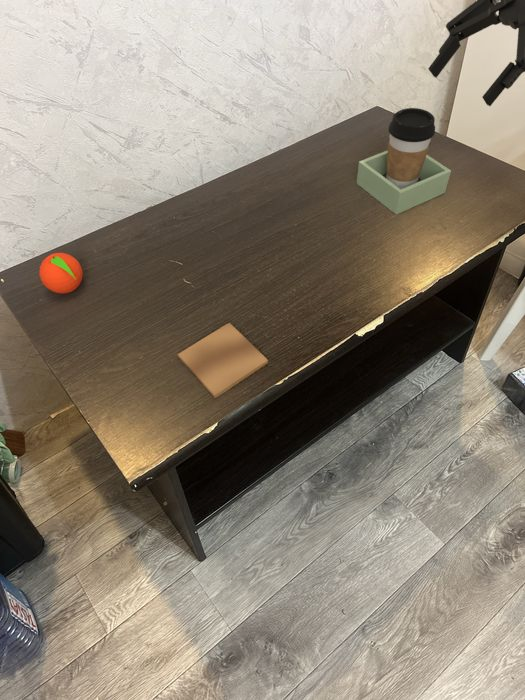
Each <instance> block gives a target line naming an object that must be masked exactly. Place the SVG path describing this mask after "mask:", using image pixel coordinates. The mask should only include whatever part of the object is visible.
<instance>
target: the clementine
mask: <svg viewBox="0 0 525 700" xmlns="http://www.w3.org/2000/svg"><path fill="white" fill-rule="evenodd" d="M83 272H84V271H83V269H82V265H81V263H80V262H79V261H78V260H77V259H76V257H74V256H72V255H71V254H69V253H65V252H55V253H51V254H50V255H48V256H47V257H45V258H44V259H43V260H42V262H41V264H40V266H39V278H40V280H41V282H42V285H44V287H45V288H47V289H48V290H49V291H51V292H53V293H57V294H68V293H72V292H73V291H75V290H76V289H78V287H79V286H80V285H81V283H82V280H83V275H84V274H83Z"/></svg>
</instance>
